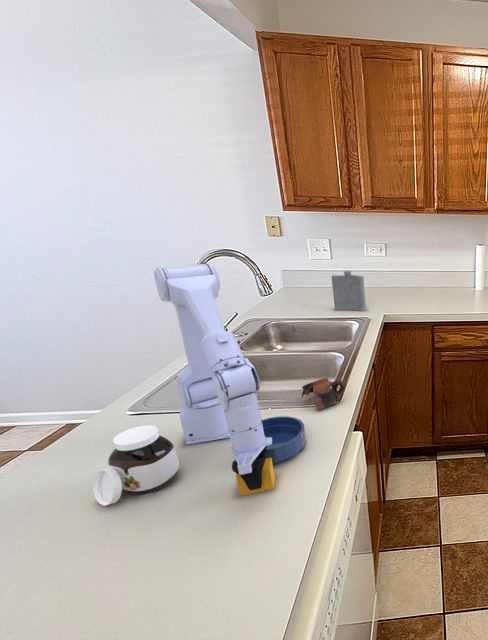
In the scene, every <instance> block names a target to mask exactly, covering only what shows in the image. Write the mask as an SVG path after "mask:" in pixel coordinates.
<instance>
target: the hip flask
mask: <svg viewBox="0 0 488 640" xmlns="http://www.w3.org/2000/svg"><path fill="white" fill-rule="evenodd" d="M343 274H344V275H343ZM343 274H342V275H337V274H335V275H331V285H332V296H333V304H334V310H335V311H356V312H364V311H365V312H366V310H367V305H366V293H365V280H364V279H365V278H364V276H363V275H359V274H352V271H351V270H344V271H343Z"/></svg>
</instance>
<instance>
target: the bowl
mask: <svg viewBox="0 0 488 640" xmlns="http://www.w3.org/2000/svg"><path fill="white" fill-rule="evenodd" d="M261 420H262V425H263V430H264V435H265V437H266V438H268V437H271V438H272V444H271V445H269V446H267V449H266V452H265V457H266V458H272V463H273V465H277V464H280V463H283V462H285V461H287V460H289V459H291V458H294V456H296V455H297V454H298V453H300V451H301V450H302V449H303V448H304V446H305V445H306V443H307V435H306V428H305V424H304V422H303V421H302V419H299V418H297V417H293V416H287V415H285V416H283V415H282V416H271V417H268V418H264V419H261Z"/></svg>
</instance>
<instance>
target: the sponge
mask: <svg viewBox="0 0 488 640" xmlns="http://www.w3.org/2000/svg"><path fill="white" fill-rule="evenodd" d="M235 479H236V484H237V487H238V492H239V496H245V495H250V494H255V493H259V492H260V493H261V492H264V491H269V490H274V488H275V479H276V474H275V469H274V464H273V463H272V458H266V459H265V464H264V466H263V469H262V486H261V488H259V489H255V490H249V488H248V487H247V485H246V484H245V482H244V480H243V479H242V478H241V477H240V476H239V475H238V474H237V473H235Z"/></svg>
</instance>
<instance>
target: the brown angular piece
mask: <svg viewBox="0 0 488 640" xmlns="http://www.w3.org/2000/svg"><path fill="white" fill-rule="evenodd" d="M338 386H340V388H339V390H338V389H337V388H338ZM301 388H302V392H301V397H302V398H304V396H309V395H310V394H311V393H313V394H314V395H316V396H318V397H319V399H320V400H319V401H317V402H315V403H314V407H315V409H316V410H317V411H320V410H323V409H326V408H329V407H332V406H335V405H336V404H337V400H338V399H339V397H340V396H342V395H343V394H344V393H345V391H346V384H345V382H344V381H343V380H335V381H330V380H329V378H328V377H323V378H319V379H318V380H315V381H312V382H309V383H307V384H303V386H301Z"/></svg>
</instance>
